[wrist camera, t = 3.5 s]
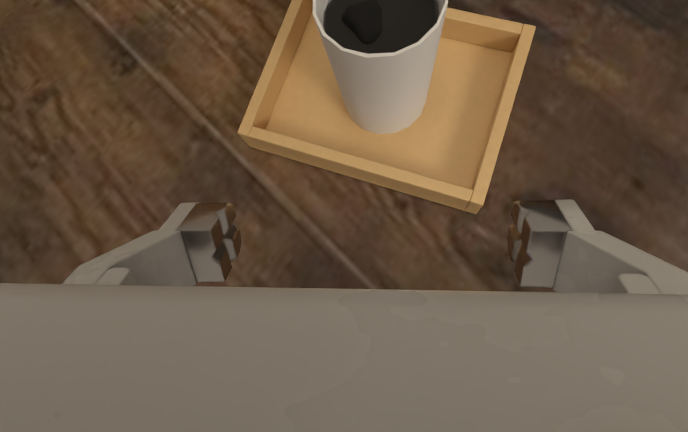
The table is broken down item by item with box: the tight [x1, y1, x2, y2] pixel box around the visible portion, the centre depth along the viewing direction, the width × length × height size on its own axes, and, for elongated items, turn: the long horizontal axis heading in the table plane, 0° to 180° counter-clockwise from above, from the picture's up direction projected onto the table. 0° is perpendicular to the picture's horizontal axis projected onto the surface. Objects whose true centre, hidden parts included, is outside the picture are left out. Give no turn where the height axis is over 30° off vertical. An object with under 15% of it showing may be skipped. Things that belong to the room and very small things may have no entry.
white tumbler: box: [313, 0, 448, 134], centre depth 26 cm, size 7×7×10 cm
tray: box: [238, 0, 536, 214], centre depth 30 cm, size 17×13×2 cm
